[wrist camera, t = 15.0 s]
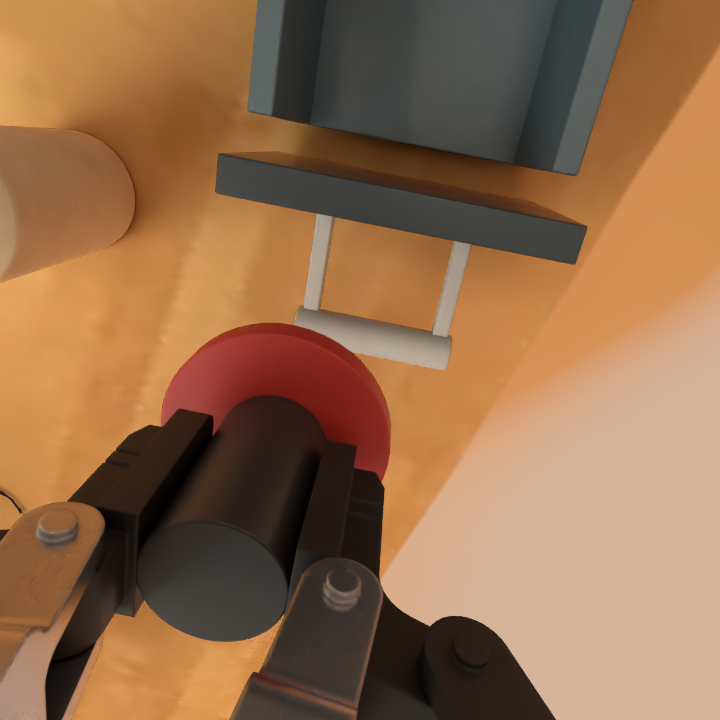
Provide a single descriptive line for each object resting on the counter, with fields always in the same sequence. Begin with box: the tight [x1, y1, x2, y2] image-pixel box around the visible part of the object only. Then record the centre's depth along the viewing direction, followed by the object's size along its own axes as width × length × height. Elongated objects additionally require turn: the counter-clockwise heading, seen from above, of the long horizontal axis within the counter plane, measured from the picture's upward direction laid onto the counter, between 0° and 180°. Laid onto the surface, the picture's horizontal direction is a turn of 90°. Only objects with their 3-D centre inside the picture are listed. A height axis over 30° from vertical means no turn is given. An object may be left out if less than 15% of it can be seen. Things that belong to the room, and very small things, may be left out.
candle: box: [0, 126, 135, 283], centre depth 21 cm, size 6×6×10 cm
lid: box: [136, 323, 391, 642], centre depth 11 cm, size 6×6×5 cm
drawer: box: [215, 0, 633, 371], centre depth 18 cm, size 22×11×8 cm, turn 169°
